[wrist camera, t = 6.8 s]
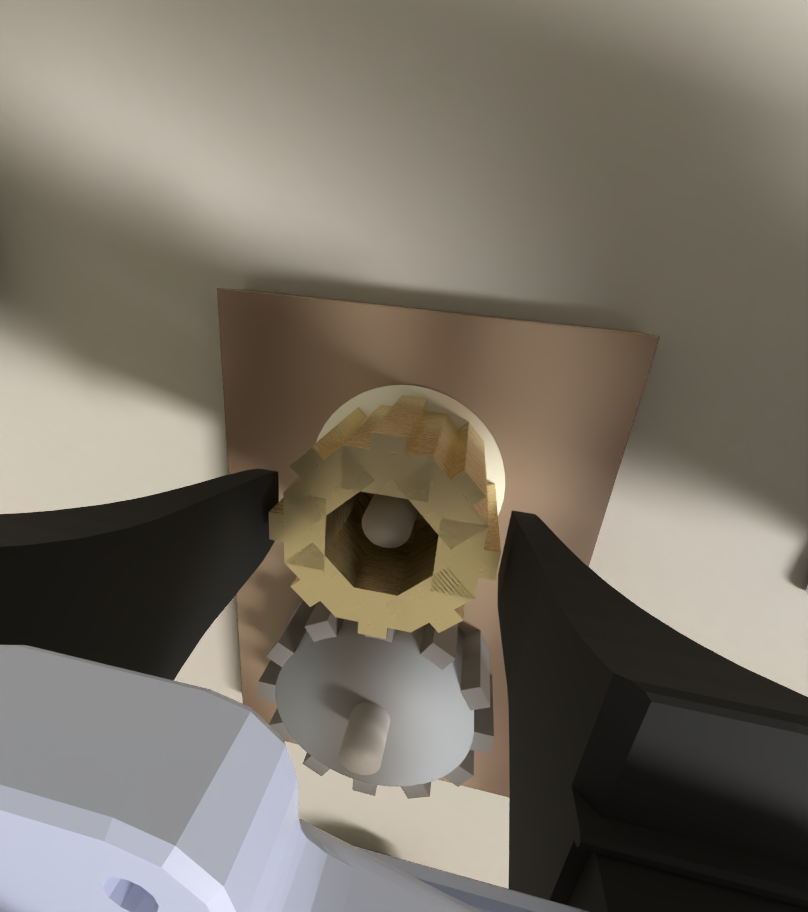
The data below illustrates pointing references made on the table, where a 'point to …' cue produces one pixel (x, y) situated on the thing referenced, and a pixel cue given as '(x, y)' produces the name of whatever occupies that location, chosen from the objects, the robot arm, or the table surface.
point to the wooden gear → (432, 538)
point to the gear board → (413, 513)
